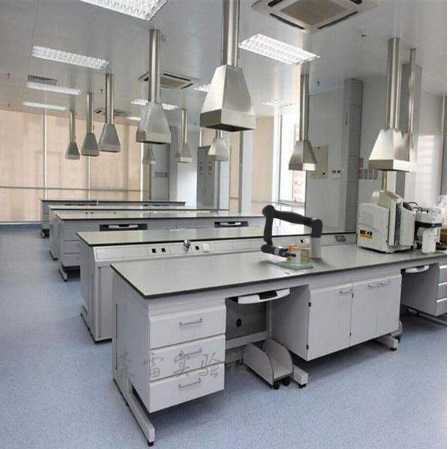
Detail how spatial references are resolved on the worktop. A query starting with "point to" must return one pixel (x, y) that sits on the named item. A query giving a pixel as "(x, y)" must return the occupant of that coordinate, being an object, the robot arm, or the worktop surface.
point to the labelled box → (298, 253)
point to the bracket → (290, 250)
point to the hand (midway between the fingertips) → (298, 255)
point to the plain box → (305, 255)
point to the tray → (296, 267)
